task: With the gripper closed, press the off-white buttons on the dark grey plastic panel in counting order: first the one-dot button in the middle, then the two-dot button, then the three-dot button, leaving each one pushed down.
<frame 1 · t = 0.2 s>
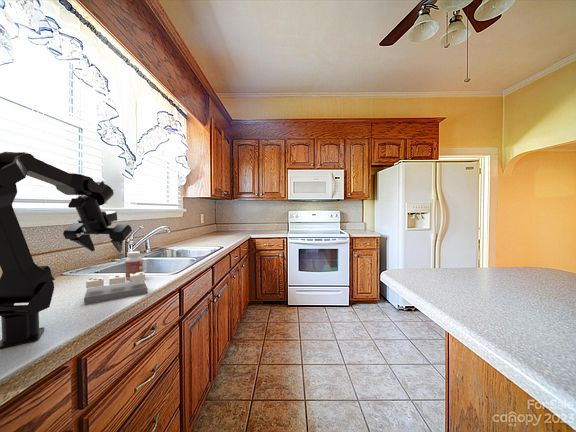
hand: (107, 251, 86), 15 cm above the countertop, tool tilted 30°, fingers open, 9 cm apart
three-dot button: (95, 282, 82), point 5 cm above the countertop, slide at 0.0 cm
one-dot button: (117, 279, 85), point 5 cm above the countertop, slide at 0.0 cm
pill bottle: (134, 278, 105), on the countertop
two-dot button: (137, 276, 89), point 5 cm above the countertop, slide at 0.0 cm
button panel: (117, 293, 85), on the countertop
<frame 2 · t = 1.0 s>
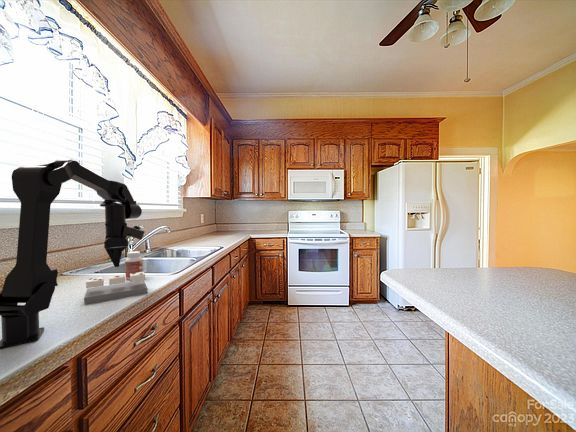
hand: (116, 264, 85), 10 cm above the countertop, tool pointing down, fingers open, 7 cm apart
nothing on the countertop moved.
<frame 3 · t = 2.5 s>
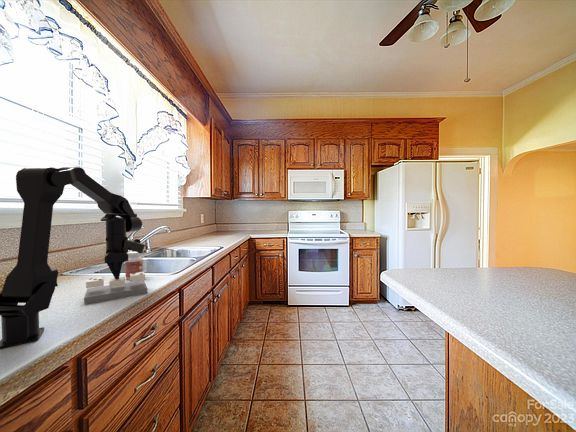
hand: (117, 278, 85), 5 cm above the countertop, tool pointing down, fingers closed, pressing on one-dot button
one-dot button: (117, 281, 85), point 4 cm above the countertop, slide at 0.8 cm, touching gripper
everything else where it was.
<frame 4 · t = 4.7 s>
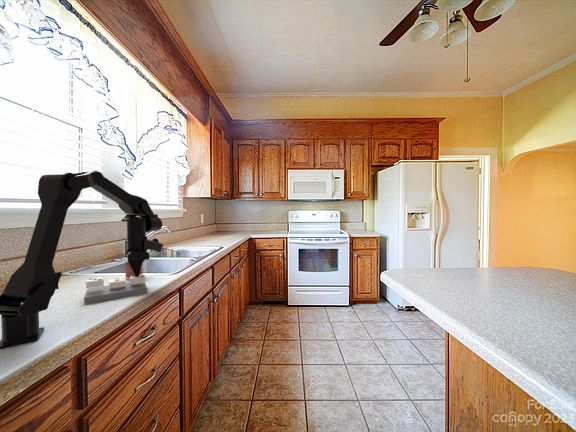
hand: (137, 276, 89), 5 cm above the countertop, tool pointing down, fingers closed, pressing on two-dot button
one-dot button: (117, 282, 85), point 4 cm above the countertop, slide at 1.3 cm
two-dot button: (137, 278, 89), point 4 cm above the countertop, slide at 0.9 cm, touching gripper
everything else where it was.
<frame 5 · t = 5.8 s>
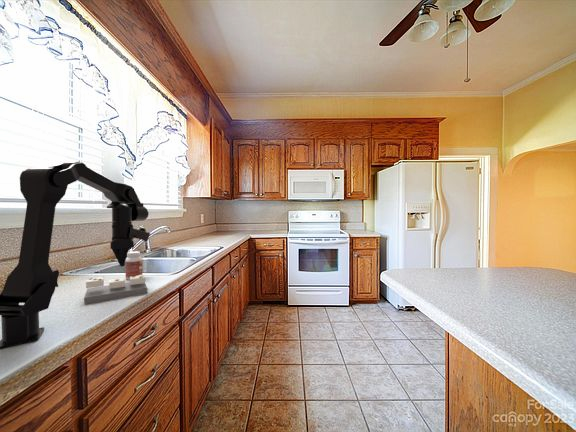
hand: (122, 266, 86), 9 cm above the countertop, tool pointing down, fingers closed
two-dot button: (137, 279, 89), point 4 cm above the countertop, slide at 1.1 cm
everything else where it was.
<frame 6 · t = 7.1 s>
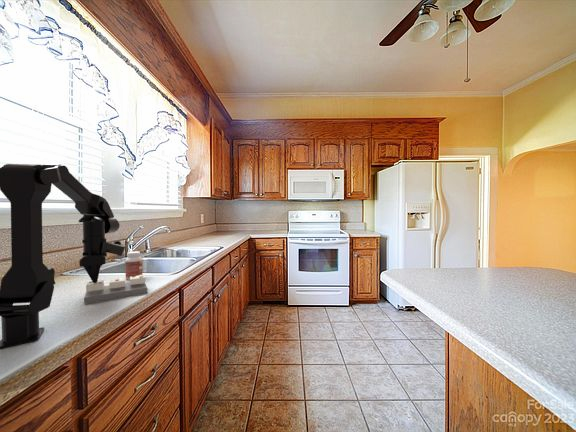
hand: (95, 282, 82), 5 cm above the countertop, tool pointing down, fingers closed, pressing on three-dot button
three-dot button: (95, 285, 82), point 4 cm above the countertop, slide at 1.1 cm, touching gripper
everything else where it was.
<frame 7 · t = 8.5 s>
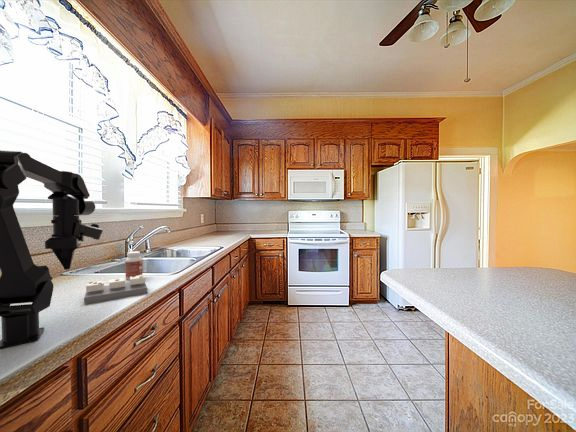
hand: (67, 269, 72), 12 cm above the countertop, tool pointing down, fingers closed
three-dot button: (95, 286, 82), point 4 cm above the countertop, slide at 1.3 cm
everything else where it was.
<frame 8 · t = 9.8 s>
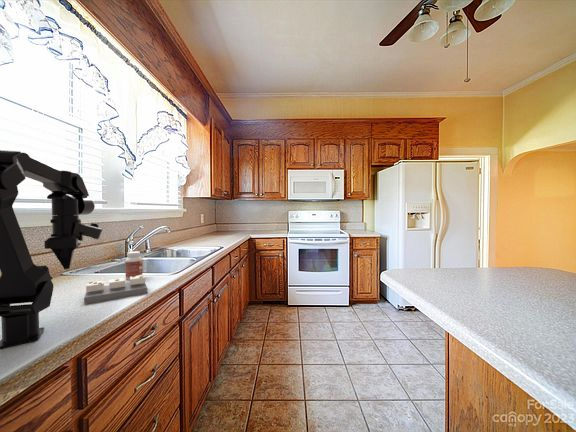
hand: (67, 268, 72), 12 cm above the countertop, tool pointing down, fingers closed
nothing on the countertop moved.
at the end: one-dot button slide at 1.3 cm; two-dot button slide at 1.1 cm; three-dot button slide at 1.3 cm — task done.
